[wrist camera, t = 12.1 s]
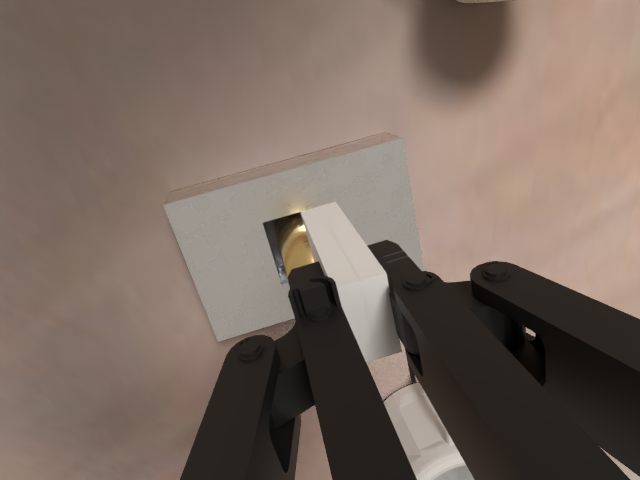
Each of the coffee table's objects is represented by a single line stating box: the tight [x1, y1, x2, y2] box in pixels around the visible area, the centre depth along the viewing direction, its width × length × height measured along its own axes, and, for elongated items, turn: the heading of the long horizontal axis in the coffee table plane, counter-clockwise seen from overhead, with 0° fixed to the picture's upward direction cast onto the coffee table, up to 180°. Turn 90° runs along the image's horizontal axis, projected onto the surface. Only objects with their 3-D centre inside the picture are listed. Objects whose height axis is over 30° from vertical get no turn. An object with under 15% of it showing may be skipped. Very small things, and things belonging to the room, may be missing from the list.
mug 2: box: [383, 383, 474, 480], centre depth 42 cm, size 14×11×10 cm
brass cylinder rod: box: [276, 212, 314, 278], centre depth 31 cm, size 4×4×10 cm
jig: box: [163, 132, 424, 342], centre depth 35 cm, size 12×18×4 cm, turn 103°
